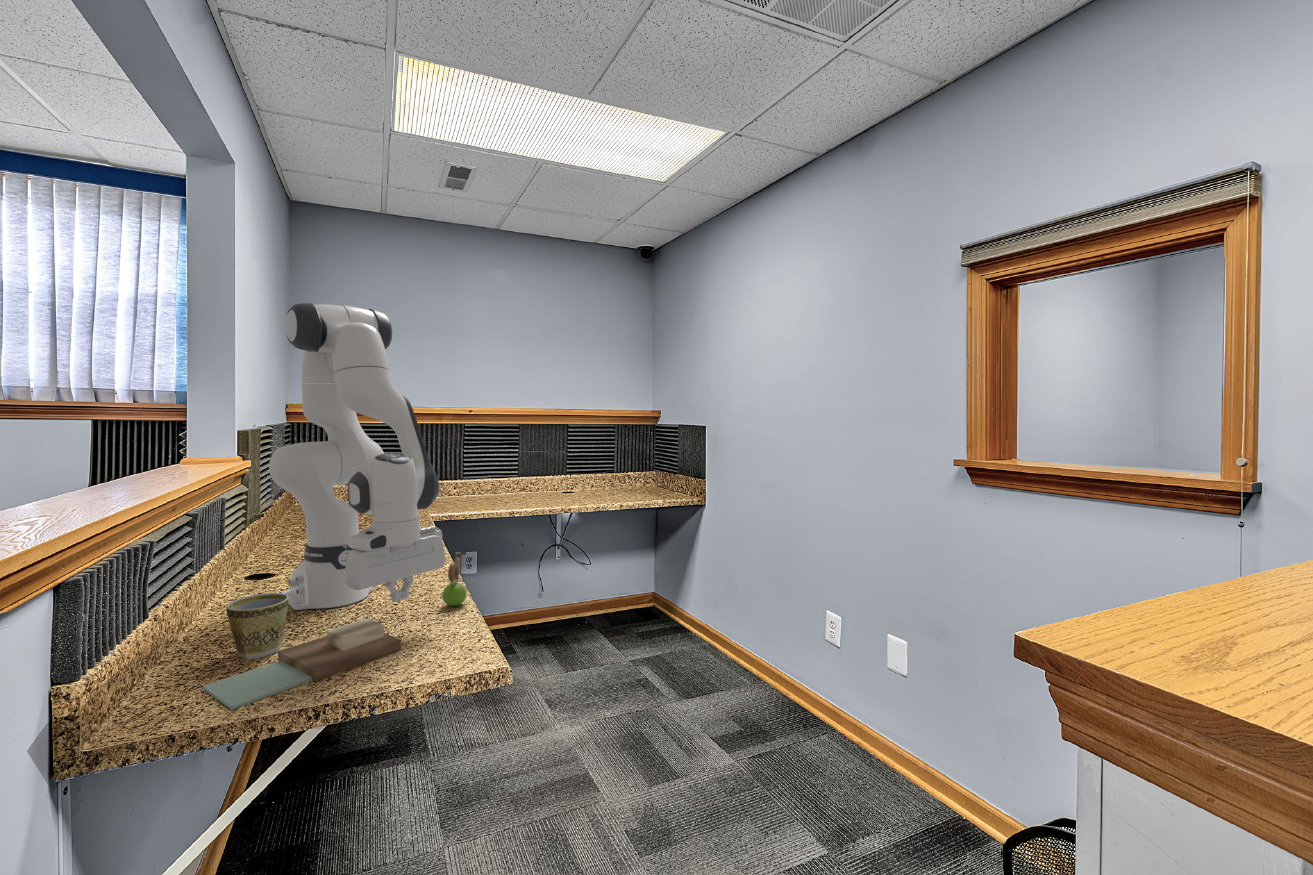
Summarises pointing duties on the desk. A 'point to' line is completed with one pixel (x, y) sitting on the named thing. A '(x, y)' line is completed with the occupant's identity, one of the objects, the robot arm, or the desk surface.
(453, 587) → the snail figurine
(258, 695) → the rubber mat
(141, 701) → the desk surface
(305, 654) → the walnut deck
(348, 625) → the ash tile
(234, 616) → the ceramic cup
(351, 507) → the robot arm
